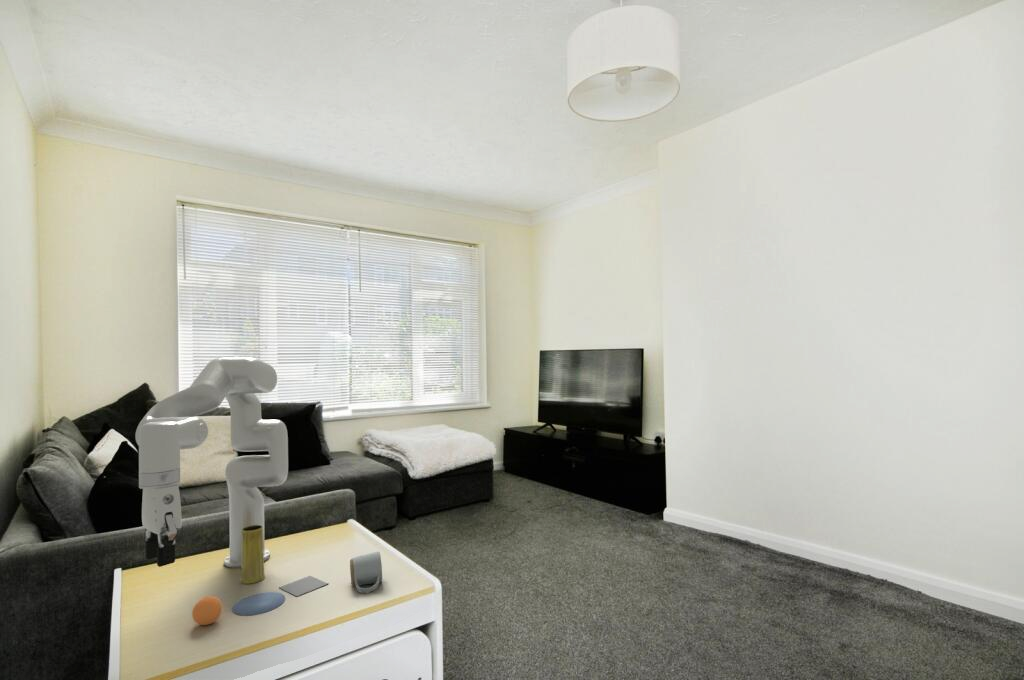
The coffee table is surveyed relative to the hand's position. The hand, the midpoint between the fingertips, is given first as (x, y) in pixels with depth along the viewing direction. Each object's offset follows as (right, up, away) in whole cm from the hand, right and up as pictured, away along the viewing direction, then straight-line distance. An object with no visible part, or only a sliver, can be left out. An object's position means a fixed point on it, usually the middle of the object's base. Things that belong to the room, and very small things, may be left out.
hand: (160, 560), depth 114 cm
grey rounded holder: (+38, -18, +26) cm, 49 cm away
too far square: (+21, -18, +26) cm, 38 cm away
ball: (+6, -15, +7) cm, 17 cm away
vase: (+5, -19, +31) cm, 36 cm away
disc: (+14, -18, +16) cm, 28 cm away
